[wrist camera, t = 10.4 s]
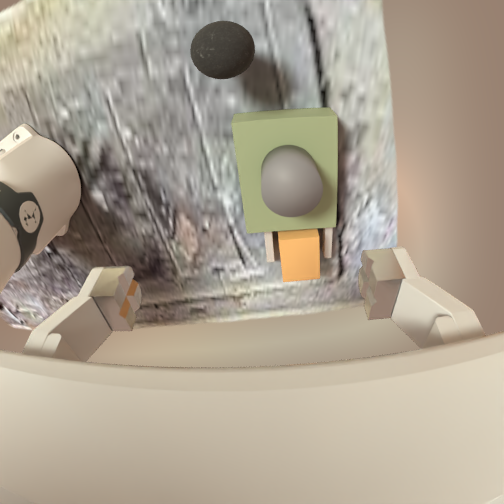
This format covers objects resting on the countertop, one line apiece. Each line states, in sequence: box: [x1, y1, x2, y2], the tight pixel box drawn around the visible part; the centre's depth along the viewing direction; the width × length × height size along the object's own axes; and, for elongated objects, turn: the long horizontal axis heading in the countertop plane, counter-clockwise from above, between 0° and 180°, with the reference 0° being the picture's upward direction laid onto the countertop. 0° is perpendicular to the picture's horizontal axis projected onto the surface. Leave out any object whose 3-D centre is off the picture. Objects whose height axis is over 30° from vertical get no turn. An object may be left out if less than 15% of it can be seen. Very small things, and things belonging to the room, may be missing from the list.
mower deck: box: [231, 108, 338, 262], centre depth 37 cm, size 11×20×9 cm, turn 6°
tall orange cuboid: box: [278, 228, 320, 282], centre depth 44 cm, size 5×7×5 cm
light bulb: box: [191, 21, 255, 79], centre depth 26 cm, size 6×6×10 cm
